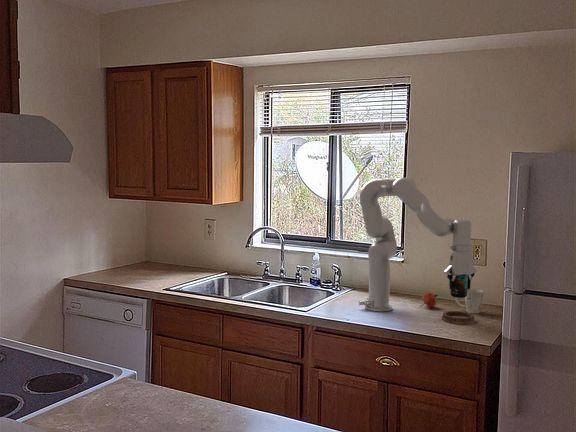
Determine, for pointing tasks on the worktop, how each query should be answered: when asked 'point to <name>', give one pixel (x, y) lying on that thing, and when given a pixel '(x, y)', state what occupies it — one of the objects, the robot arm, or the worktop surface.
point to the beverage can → (460, 286)
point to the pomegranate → (429, 299)
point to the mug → (472, 301)
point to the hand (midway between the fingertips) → (459, 288)
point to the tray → (458, 317)
